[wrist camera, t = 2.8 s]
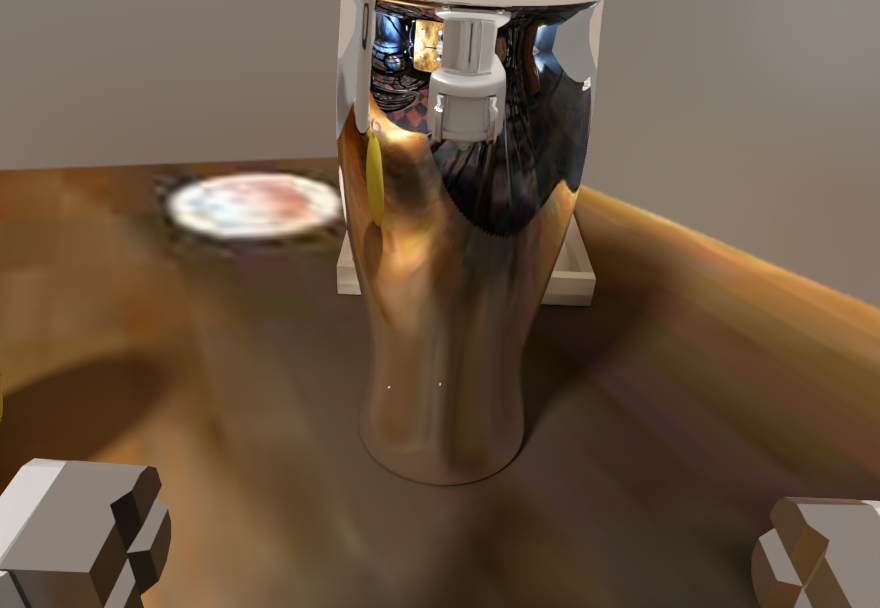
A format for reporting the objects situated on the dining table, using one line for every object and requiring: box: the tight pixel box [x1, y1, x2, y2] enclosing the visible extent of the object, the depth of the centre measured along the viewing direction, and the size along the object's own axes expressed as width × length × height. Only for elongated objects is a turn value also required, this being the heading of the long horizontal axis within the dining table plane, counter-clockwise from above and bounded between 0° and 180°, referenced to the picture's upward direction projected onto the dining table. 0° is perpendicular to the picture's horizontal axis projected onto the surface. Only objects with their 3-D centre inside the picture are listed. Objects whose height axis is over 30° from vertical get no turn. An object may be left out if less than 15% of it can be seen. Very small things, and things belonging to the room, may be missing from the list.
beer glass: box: [337, 0, 604, 485], centre depth 21 cm, size 7×7×15 cm
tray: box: [337, 214, 596, 306], centre depth 36 cm, size 12×11×2 cm
